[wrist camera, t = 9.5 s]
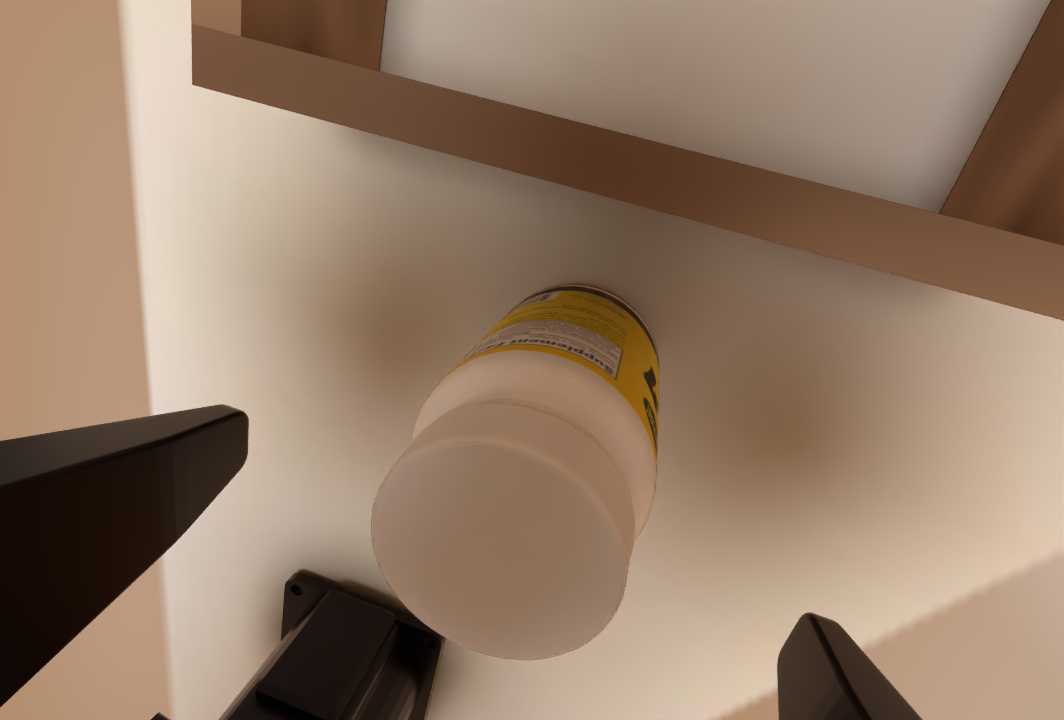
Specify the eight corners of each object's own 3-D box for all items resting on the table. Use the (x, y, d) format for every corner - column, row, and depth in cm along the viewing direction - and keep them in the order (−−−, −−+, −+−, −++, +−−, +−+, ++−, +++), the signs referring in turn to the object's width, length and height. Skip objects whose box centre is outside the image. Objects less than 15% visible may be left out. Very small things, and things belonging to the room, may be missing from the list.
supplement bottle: (632, 456, 16) (601, 724, 9) (484, 409, 17) (332, 622, 9) (684, 306, 14) (703, 482, 7) (515, 260, 15) (357, 372, 7)
